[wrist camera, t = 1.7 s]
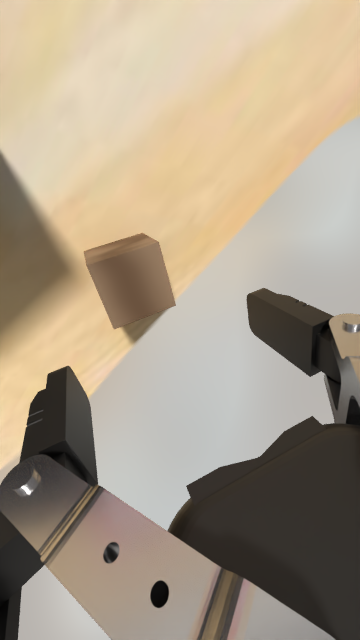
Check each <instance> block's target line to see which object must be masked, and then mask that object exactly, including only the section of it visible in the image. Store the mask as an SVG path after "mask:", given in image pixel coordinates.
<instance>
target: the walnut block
mask: <svg viewBox="0 0 360 640" xmlns="http://www.w3.org/2000/svg"><path fill="white" fill-rule="evenodd" d="M84 255H85V260H86V265H87V268H88V270H89V272H90V275H91V277H92V279H93V282H94V284H95V286H96V289H97V291H98V293H99V296H100V298H101V300H102V302H103V305H104V307H105V309H106V312H107V314H108V316H109V319H110V321H111V323H112V326H113V328H114V329H116V328H119V327H121V326H124V325H127V324H129V323H132V322H134V321H137V320H140V319H142V318H145V317H147V316H150V315H152V314H155V313H158V312H160V311H163V310H165V309H168V308H171V307H173V306H175V305H176V304H175V301H174V297H173V293H172V289H171V286H170V282H169V278H168V274H167V271H166V267H165V263H164V260H163V256H162V252H161V248H160V245H159V242H158V241H156V240H154V239H152V238H151V237H149V236H147V235H145V234H143V233H141V234H137V235H134V236H131V237H128V238H125V239H121V240H118V241H115V242H112V243H109V244H106V245H102V246H99V247H96V248H93V249H90V250H86V251H84Z"/></svg>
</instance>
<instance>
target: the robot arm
mask: <svg viewBox="0 0 360 640" xmlns="http://www.w3.org/2000/svg"><path fill="white" fill-rule="evenodd" d="M247 308H248V318H249V325H250V328H251V330H252V332H253V333H254V335H255V336H257V337H258V338H259V339H261V340H262V341H263V342H265V343H266V344H267V345H269V346H270V347H271V348H273V349H274V350H275V351H277V352H278V353H279V354H281V355H282V356H283V357H285V358H286V359H287V360H289V361H290V362H291V363H293V364H294V365H295V366H297V367H298V368H299V369H301V370H302V371H303V372H305V373H306V374H307V375H308V376H310V377H311V376H313V375H315V374H317V373H318V372H320V371H322V372H323V373H325V375H324V381H325V385H326V389H327V393H328V397H329V401H330V405H331V409H332V412H333V416H334V422H335V423H333V424H324V425H322V424H320V423H319V422H318V421H317V420H316V419H315V418H314V417H313V416H311V417H310V418H308V419H306V420H304V421H302V422H301V423H299V424H297V425H295V426H293V427H292V428H290V429H288V430H286V431H284V432H283V433H282V434H281V435H280V436H279V438H278V439H277V440H276V441H275V442H274V443H273V444H272V445H271V446H270V447H269V448H268V449H267V450H266V451H265V452H264V453H263V454H262V455H261V456H260V457H258V458H255V459H251V460H247V461H244V462H239V463H235V464H231V465H228V466H223V467H220V468H218V469H216V470H214V471H212V472H211V473H209V474H207V475H205V476H203V477H202V478H200V479H198V480H196V481H194V482H193V483H191V484H189V485H187V486H186V487H187V489H188V491H189V494H190V497H191V498H190V499H189V500H188V501H187V502H186V503H185V504H184V505H183V506H182V508H181V509H180V510H179V512H178V513H177V514H176V516H175V518H174V519H173V521H172V523H171V525H170V527H169V529H168V531H166V530H165V529H163V528H162V527H160V526H159V525H157V524H156V523H154V522H153V521H151V520H150V519H148V518H147V517H146V516H144V515H143V514H141V513H140V512H138V511H137V510H135V509H134V508H132V507H131V506H129V505H128V504H126V503H124V502H123V501H122V500H120V499H119V498H117V497H116V496H115V495H113V494H111V493H110V492H109V491H107V490H106V489H104V488H103V487H101V486H99V485H98V478H97V468H96V459H95V448H94V438H93V428H92V417H91V407H90V403H89V400H88V397H87V395H86V393H85V391H84V390H83V388H82V386H81V384H80V383H79V381H78V379H77V377H76V376H75V374H74V372H73V370H72V369H71V368H70V367H69V366H66V367H63V368H61V369H58V370H56V371H53V372H51V373H49V374H48V376H47V384H46V389H44V390H41V391H39V392H38V393H37V395H36V396H35V398H34V399H33V401H32V402H31V404H30V409H29V417H28V420H27V427H26V431H25V436H24V441H23V446H22V452H21V457H20V462H19V464H18V465H17V466H15V467H14V468H13V469H12V470H11V471H10V472H9V473H8V475H7V476H6V477H5V478H4V480H3V481H2V483H1V485H0V640H18V628H19V615H20V602H21V589H22V586H23V585H24V584H25V583H26V582H27V581H28V580H29V579H30V578H31V577H32V576H33V575H34V574H35V573H36V572H37V571H39V570H40V569H41V568H42V567H43V565H46V567H47V568H48V569H49V570H50V571H51V572H52V573H53V575H54V576H55V577H56V578H57V579H58V580H59V581H60V582H61V584H62V585H63V586H64V587H65V588H66V589H67V590H68V591H69V593H70V594H71V595H72V596H73V597H74V598H75V599H76V600H77V601H78V603H79V604H80V605H81V606H82V607H83V608H84V609H85V610H86V612H87V613H88V614H89V615H90V616H91V617H92V618H93V619H94V621H95V622H96V623H97V624H98V625H99V626H100V627H101V628H102V630H104V632H105V633H106V634H107V635H108V636H109V637H110V638H111V640H360V315H359V314H340V315H337V316H332V315H330V314H328V313H325V312H323V311H321V310H319V309H317V308H314V307H312V306H310V305H307V304H306V303H303V302H301V301H300V302H299V300H297V299H295V298H293V297H290V296H287V295H281V294H276V293H274V292H272V291H270V290H268V289H265V288H262V289H260V290H257V291H255V292H252V293H250V294H248V295H247Z"/></svg>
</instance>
